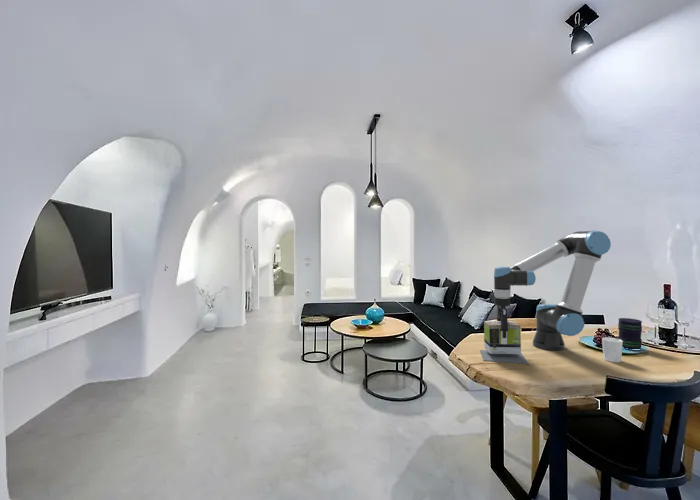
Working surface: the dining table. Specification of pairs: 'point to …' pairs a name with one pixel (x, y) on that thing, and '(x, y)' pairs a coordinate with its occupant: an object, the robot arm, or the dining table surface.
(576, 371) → the dining table surface
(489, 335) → the tea box
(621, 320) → the storage jar
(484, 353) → the mat
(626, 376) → the dining table surface
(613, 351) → the white cup
